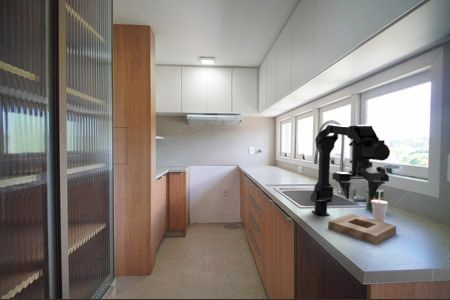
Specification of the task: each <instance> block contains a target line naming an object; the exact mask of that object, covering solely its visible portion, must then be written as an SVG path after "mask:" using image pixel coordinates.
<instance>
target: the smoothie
mask: <svg viewBox="0 0 450 300" xmlns="http://www.w3.org/2000/svg"><path fill="white" fill-rule="evenodd" d="M371 203H372V209H373V212H372V219H373V220H377V221H381V222H385V221H386V220H385V219H386V214H387V208H388V206H389V202H388V201H385V200H384V201H382V200H380V192H379V200H371Z"/></svg>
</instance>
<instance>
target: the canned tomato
mask: <svg viewBox="0 0 450 300" xmlns="http://www.w3.org/2000/svg"><path fill="white" fill-rule="evenodd" d="M379 192H380V200H382V201H385V190H384V189H380V188H378V189H377V191H376V193H375V195H374V197H373V199H370V198H369V188H368V187H367V188H366V196H365V197H366V198H365V201H366V202H365V210H366V211H368V212H372V213H373V209H372V203H371V200H379Z"/></svg>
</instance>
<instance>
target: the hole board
mask: <svg viewBox="0 0 450 300" xmlns="http://www.w3.org/2000/svg"><path fill="white" fill-rule="evenodd" d="M327 223H328V226H327V227H328V228H327V229H330V230H332V231H335V232H338V233H342V234H345V235H346V236H347V235H348V236H350V237H353V238H357V239H359V240H363V241H366V242H368V243H371V244H375V245H377V244H379V243H381V242H382V241H384V240H386V239H387V238H389V237H392V236H393V235H395V234H396V233H397V225H396V224H393V223H388V222H385V221H384V222H381V221H377V220H374V218H368V217H365V216H361V215H356V214H353V213H348V214H345V215H342V216H339V217H336V218H332V219H331V220H327Z"/></svg>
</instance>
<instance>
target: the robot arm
mask: <svg viewBox="0 0 450 300" xmlns="http://www.w3.org/2000/svg"><path fill="white" fill-rule="evenodd" d="M339 135H341V136H346V137H347V138H348V139H350V140H351V142H350V143H349V144H348V146H349V147H352V149H351V159H350V160H349V163H350V164H351V170H349V173H348V172H346V171H345V172H344V171H334V172H333V173H332V178H331V179H332V180H334V181H335V182H337V183H338V184H339V186H340V187H341V190H342V193H343V195H344V197H345V198H346V199H345V200H349V199H350V186H351V185H352V182H351V180H365V181H367V185H368V187H367V189H368V188H369V198H370V199H373V197H374V195H375V193H376V191H377V189H379V187H381V186H382V185H385V184H386V182H390V176H389V174H388V173H387V172H386V168H385V167H384V166H377V167H375V166H373V162H372V161H370V160H375V161H385V160H387V159H388V158H389V156H390V154H391V150H390V148H389V146H388V145H387V144H385V140H384V139H382V140H381V139H379V137H378V135H377V133H376V131H375V130H374V128H373V126H372V125H371V124H352V125H340V124H334V123H333V124H331V123H330V124H328V125H327V126H326V127H325V128H324V129H322V130H320V131H319V132H318V134H317V136H316V137H315V147H316V149H317V152H318V153H319V155H318V176H317V177H318V179H317V182H316V183H315V185H314V188H313V192H312V193H311V194H310V197H309V198H310V201H311V202H312V203H314V210H311V212H312V213H313V214H314V215H315V216H318V217H319V216H330V215H331V214H330V213H329V212H328V203H332V202H333V196H334V187H333V186H332V185H331V184H330V168H331V167H330V166H331V163H330V162H331V153H332V151H333V150H334V148H335V144H336V143H337V140H338V139H339Z"/></svg>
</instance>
